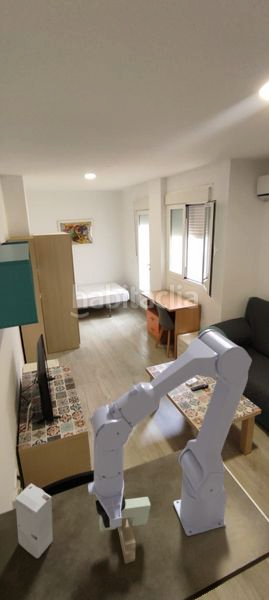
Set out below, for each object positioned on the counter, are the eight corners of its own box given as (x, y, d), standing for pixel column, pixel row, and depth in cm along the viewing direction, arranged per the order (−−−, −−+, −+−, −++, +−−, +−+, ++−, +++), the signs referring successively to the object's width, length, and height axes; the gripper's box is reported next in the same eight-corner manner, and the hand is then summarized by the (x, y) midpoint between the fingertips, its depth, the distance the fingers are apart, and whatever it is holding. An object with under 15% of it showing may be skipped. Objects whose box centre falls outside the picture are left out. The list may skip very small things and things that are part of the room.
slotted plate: (144, 515, 64) (147, 496, 63) (146, 523, 62) (150, 505, 61) (98, 521, 61) (101, 502, 60) (100, 531, 59) (103, 511, 58)
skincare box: (17, 543, 61) (12, 498, 57) (34, 525, 64) (30, 481, 61) (38, 560, 58) (34, 514, 54) (55, 540, 62) (52, 495, 58)
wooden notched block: (123, 513, 67) (123, 496, 66) (135, 560, 58) (135, 542, 57) (115, 515, 67) (115, 498, 66) (125, 563, 58) (125, 545, 56)
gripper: (83, 442, 62) (85, 492, 66) (92, 505, 49) (93, 563, 52) (116, 436, 64) (116, 485, 68) (133, 495, 50) (132, 552, 54)
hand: (108, 519), depth 60 cm, fingers closed on slotted plate, 2 cm apart
